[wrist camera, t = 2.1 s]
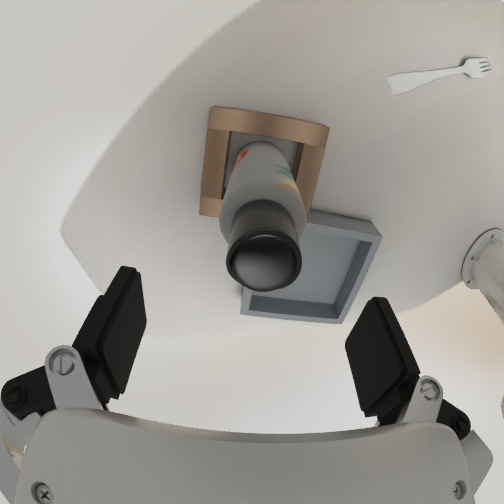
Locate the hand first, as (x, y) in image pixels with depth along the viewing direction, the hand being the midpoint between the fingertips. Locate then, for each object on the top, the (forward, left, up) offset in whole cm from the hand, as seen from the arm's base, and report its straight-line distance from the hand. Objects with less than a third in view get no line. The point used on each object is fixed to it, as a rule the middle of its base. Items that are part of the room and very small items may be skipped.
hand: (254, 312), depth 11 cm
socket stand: (0, 0, -23) cm, 23 cm away
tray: (-8, +12, -23) cm, 27 cm away
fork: (-22, -19, -24) cm, 37 cm away
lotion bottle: (0, 0, -23) cm, 23 cm away
